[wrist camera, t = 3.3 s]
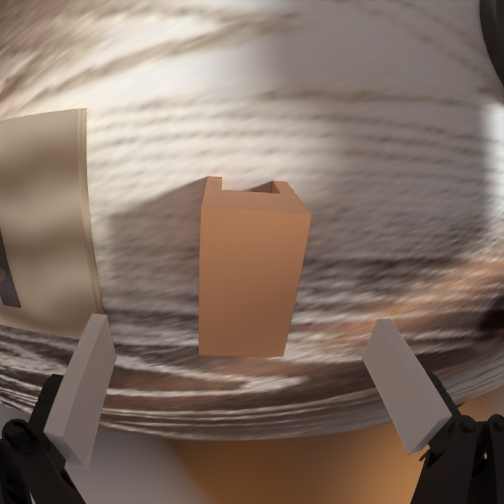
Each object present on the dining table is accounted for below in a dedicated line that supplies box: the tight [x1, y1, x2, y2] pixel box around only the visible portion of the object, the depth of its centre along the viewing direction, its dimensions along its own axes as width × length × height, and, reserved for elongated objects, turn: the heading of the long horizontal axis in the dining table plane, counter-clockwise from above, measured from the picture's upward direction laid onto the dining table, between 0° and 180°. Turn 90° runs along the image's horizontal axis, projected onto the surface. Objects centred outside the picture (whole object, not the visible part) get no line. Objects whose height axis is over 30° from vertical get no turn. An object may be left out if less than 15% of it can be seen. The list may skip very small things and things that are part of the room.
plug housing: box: [199, 176, 312, 357], centre depth 21 cm, size 10×6×7 cm, turn 174°
